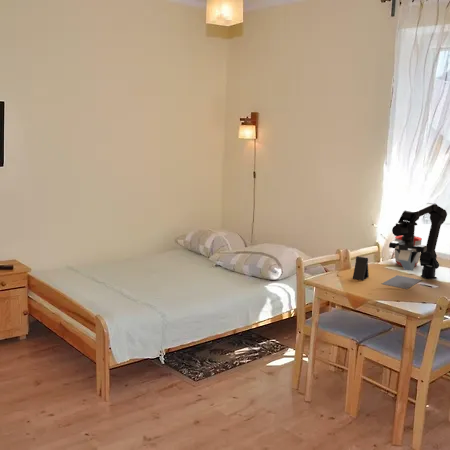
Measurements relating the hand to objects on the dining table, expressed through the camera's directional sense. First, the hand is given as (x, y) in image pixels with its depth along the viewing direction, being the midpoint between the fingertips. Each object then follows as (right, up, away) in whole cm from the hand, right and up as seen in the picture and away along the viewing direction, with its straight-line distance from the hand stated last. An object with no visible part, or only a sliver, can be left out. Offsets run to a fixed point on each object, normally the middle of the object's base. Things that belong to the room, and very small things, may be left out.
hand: (406, 262), depth 296 cm
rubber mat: (-2, -11, +3) cm, 12 cm away
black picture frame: (-22, -10, +11) cm, 27 cm away
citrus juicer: (+13, -5, +40) cm, 42 cm away
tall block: (+3, -3, +5) cm, 7 cm away
